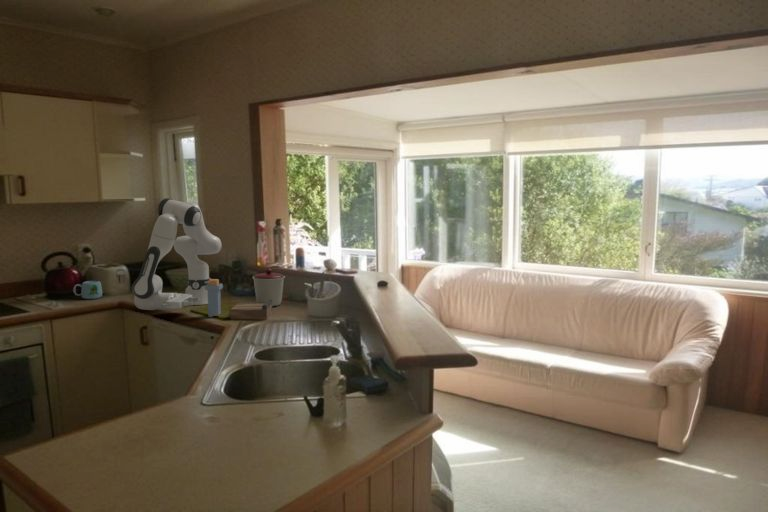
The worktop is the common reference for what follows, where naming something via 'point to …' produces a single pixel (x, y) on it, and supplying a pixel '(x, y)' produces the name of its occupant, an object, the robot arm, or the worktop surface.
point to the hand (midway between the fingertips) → (195, 301)
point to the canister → (269, 287)
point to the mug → (90, 290)
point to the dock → (251, 310)
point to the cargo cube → (213, 282)
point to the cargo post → (214, 299)
